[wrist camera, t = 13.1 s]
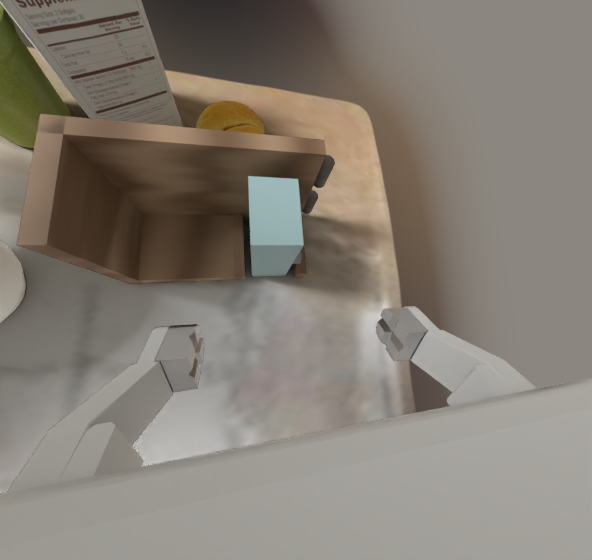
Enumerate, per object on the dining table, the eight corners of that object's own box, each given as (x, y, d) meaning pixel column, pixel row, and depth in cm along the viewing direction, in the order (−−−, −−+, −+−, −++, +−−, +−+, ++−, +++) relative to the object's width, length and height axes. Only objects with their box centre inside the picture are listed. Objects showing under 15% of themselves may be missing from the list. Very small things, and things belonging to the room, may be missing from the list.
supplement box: (84, 108, 23) (-109, -147, 10) (153, 87, 25) (59, -144, 13) (121, 162, 22) (-35, -37, 10) (189, 137, 24) (126, -53, 12)
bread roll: (252, 114, 27) (252, 79, 23) (282, 175, 26) (287, 149, 22) (184, 128, 25) (172, 91, 21) (214, 195, 24) (206, 169, 20)
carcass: (130, 283, 20) (16, 245, 10) (135, 208, 22) (40, 113, 12) (313, 276, 24) (354, 242, 14) (307, 212, 25) (340, 141, 15)
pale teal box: (252, 276, 22) (250, 245, 14) (250, 231, 23) (248, 175, 15) (296, 275, 23) (320, 245, 15) (293, 232, 24) (314, 179, 16)
